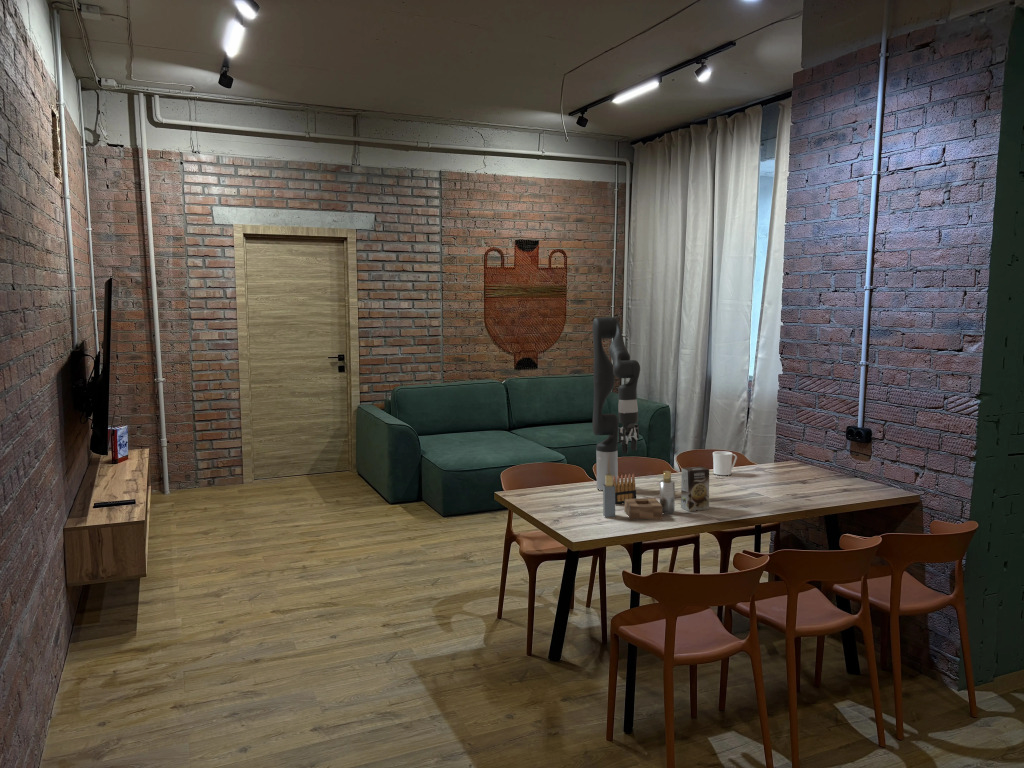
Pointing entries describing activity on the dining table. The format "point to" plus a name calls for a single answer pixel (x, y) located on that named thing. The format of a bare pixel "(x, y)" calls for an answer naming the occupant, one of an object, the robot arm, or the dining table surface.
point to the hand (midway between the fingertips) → (629, 451)
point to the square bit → (609, 497)
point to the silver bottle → (667, 493)
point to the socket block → (643, 508)
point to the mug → (723, 463)
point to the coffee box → (695, 488)
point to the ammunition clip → (624, 488)
